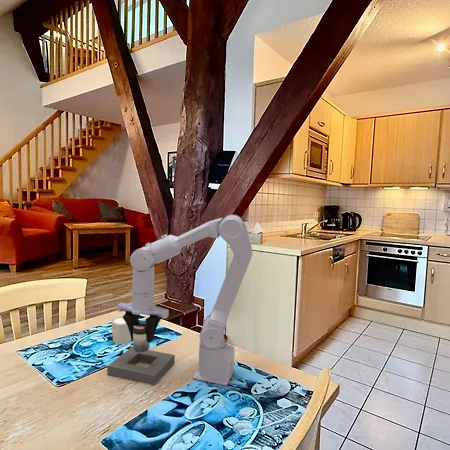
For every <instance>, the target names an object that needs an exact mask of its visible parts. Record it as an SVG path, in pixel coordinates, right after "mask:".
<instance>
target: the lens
mask: <svg viewBox="0 0 450 450" xmlns="http://www.w3.org/2000/svg"><path fill="white" fill-rule="evenodd" d="M150 344H151V342H150V343H149V342H147V325H146V321H145V320H138V321H137V322H135V323H133V340H132V347H133V350H134V351H135V352H145V351H147V350H150V347H151V346H150Z"/></svg>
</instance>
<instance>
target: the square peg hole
mask: <svg viewBox="0 0 450 450" xmlns="http://www.w3.org/2000/svg"><path fill="white" fill-rule="evenodd" d="M175 357H176V356H175V354H172V353H166V352H163V351H162V352H161V351H155V350H150V349H149V350H147V351H145V352H135V351H134V350H133V346H131V347H130V348H128V349H127V350H126V351H124V353H122V354H121V355H120V356H118V357H117V358H115V359H114V360H113V361H112V362H110V363H109V364H107V369H106V370H107V371H106V373H107V376H112V377H116V378H119V379H124V380H130V381H133V382H139V383H141V384H142V383H143V384H146V385H152V386H155V385H157V383H158V382H159V381H160V380H161V379H162V378H163V377H164V376H165V374H166V373H167V372H169V370H170V369H171V368H172V367H173V366H174V365H175V361H176V360H175ZM138 362H140V363H143V364H148V366H146V367H145V366H142V365H138V364H137V363H138Z"/></svg>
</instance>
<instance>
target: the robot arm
mask: <svg viewBox="0 0 450 450" xmlns="http://www.w3.org/2000/svg"><path fill="white" fill-rule="evenodd" d="M219 237H221V239H222V240H224V241H225V242H226V243H227V244H228V245H229V247H230V249H231V251H232V253H233V257H232V258H231V262H230V264H229V267H228V269H227V272H226V274H225V277H224V280H223V282H222V284H221V287H220V288H219V292H218V294H217V297H216V300H215V303H214V305H213V307H212V310H211V312H209V314H208V315H207V316H206V317H205V319H204V320H203V325H202V328H201V331H200V332H199V345H198V348H199V349H198V368H197V371H196V372H195V373H194V374H193V376H192V379H193V380H198V381H203V382H207V383H211V384H217V385H222V386H228V384H229V382H230V380H231V378H232V376H233V374H234V373H235V369H234V368H235V346H233V345H230V344H228V343H227V340H226V339H225V330H226V326H227V321H228V318H229V315H230V312H231V311H232V308H233V305H234V302H235V300H236V297H237V294H238V293H239V290H240V287H241V285H242V282H243V280H244V277H245V275H246V272H247V269H248V267H249V264H250V262H251V259H252V257H253V253H254V252H253V249H252V247H253V246H252V243H251V238H250V236H249V230H248V227H247V225H246V224H245V222H244V221H243V219H242V218H241V216H239V215H237V214H229V215H226V216H225V217H224V218H223V217H220V218H219V217H218V218H216V219H213V220H210V221H207V222H206V223H203V224H201V225H199V226H198V227H195V228H193V229H191V230H188V231H187V232H184V233H182V234H181V235H179V236H176V235H173V234H169V235H167V234H166V233H165V234H163V235H161V236H160V239H158V240H156V241H154V242H151V243H150V242H147V243H145V246H142V247H141V248H137V249H135V250H134V251H133V252H132V253H131V255H130V258H129V263H130V266H131V267H132V282H131V283H132V285H131V286H132V291H131V292H132V294H131V295H132V297H131V298H132V299H131V301H132V302H130V303H129V302H121V303H119V304H117V312H118V313H119V312H120V313H122V312H125V313H124V315H122V317H123V319H124V321H125V322H126V324H127V326H128V329H129V332H130V336H131V341H133V323H135V322H137V321H140V320H139V318H140V315H146V316H148V317H146V318H145V319H144V321H146V325H147V342H149V343H150V344H151V342H152V341H154V339H155V334H156V331H157V328H158V325H159V324H160V321H161V320H162V319H163V320H165V319H167V318H168V317H169V315H170V313H169V312H170V311H169V309H167V308H164V307H160V306H157V305H154V304H155V303H154V302H155V301H154V300H155V264H160V263H162V262H164V261H165V262H166V261H167V260H169V259H172V258H173V257H175V256H178V255H180V253H181V251H182V249H183V248H184V247H186V246H189V245H191V244H193V243H196V242H198V241H201V240H203V239H206V238H214V239H219ZM233 372H234V373H233Z"/></svg>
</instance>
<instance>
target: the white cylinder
mask: <svg viewBox="0 0 450 450" xmlns="http://www.w3.org/2000/svg"><path fill="white" fill-rule="evenodd" d="M111 332H112V342H114V343H115V344H114V343H113V344H114V345H117V344H119V345H118V346H121V345H120V344H124V345H128V344H130V343H131V341H132V339H131V336H130V332H129V329H128V326H127V324H126V322H125V321H124V319H123V316H120V317H115V318H113V319H112V320H111ZM129 342H130V343H129ZM127 343H128V344H127Z"/></svg>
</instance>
